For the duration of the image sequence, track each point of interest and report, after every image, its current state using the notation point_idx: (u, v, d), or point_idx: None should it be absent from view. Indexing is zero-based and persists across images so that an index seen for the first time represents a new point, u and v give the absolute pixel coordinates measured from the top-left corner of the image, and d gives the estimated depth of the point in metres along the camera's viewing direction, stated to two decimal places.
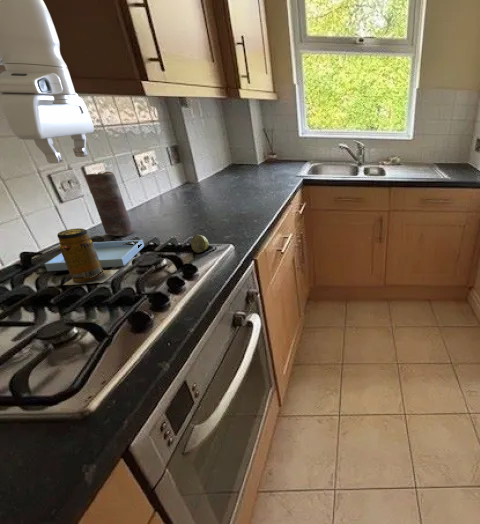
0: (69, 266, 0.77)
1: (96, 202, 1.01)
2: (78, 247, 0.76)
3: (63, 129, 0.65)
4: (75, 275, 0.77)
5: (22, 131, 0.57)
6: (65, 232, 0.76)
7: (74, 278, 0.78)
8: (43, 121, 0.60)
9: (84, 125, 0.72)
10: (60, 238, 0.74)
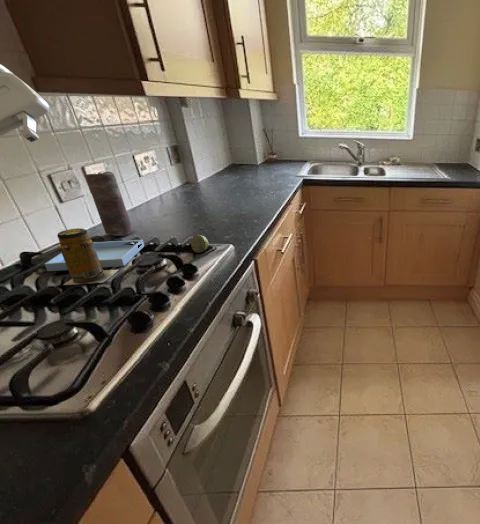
0: (69, 265, 0.77)
1: (96, 202, 1.01)
2: (78, 247, 0.76)
3: None
4: (74, 275, 0.77)
5: (41, 99, 0.62)
6: (65, 232, 0.76)
7: (74, 278, 0.78)
8: None
9: None
10: (60, 238, 0.74)
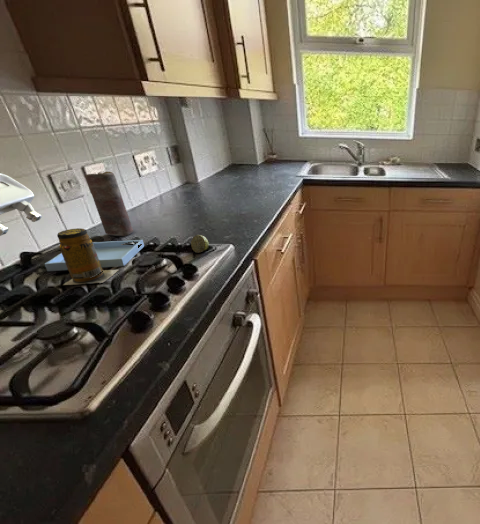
0: (69, 266, 0.77)
1: (96, 202, 1.01)
2: (78, 247, 0.76)
3: None
4: (74, 275, 0.77)
5: None
6: (65, 232, 0.76)
7: (74, 278, 0.78)
8: None
9: None
10: (60, 238, 0.74)
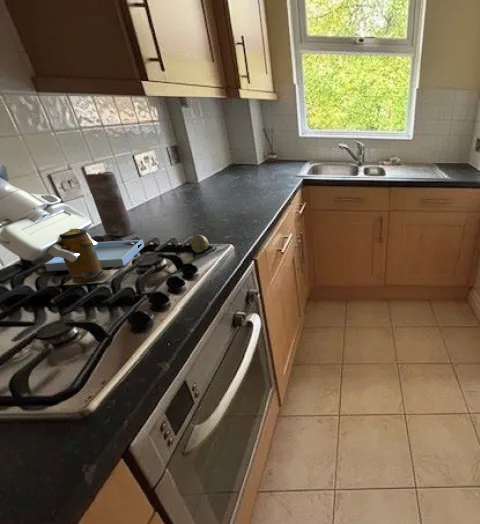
0: (69, 266, 0.76)
1: (96, 202, 1.01)
2: (78, 247, 0.75)
3: None
4: (74, 275, 0.77)
5: None
6: None
7: (74, 278, 0.78)
8: None
9: None
10: None
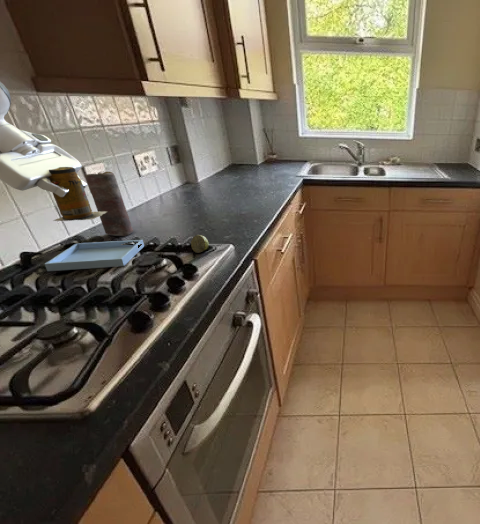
0: (58, 202, 0.79)
1: (96, 202, 1.01)
2: (67, 183, 0.78)
3: None
4: (64, 211, 0.80)
5: None
6: (54, 169, 0.78)
7: (63, 215, 0.81)
8: None
9: None
10: None
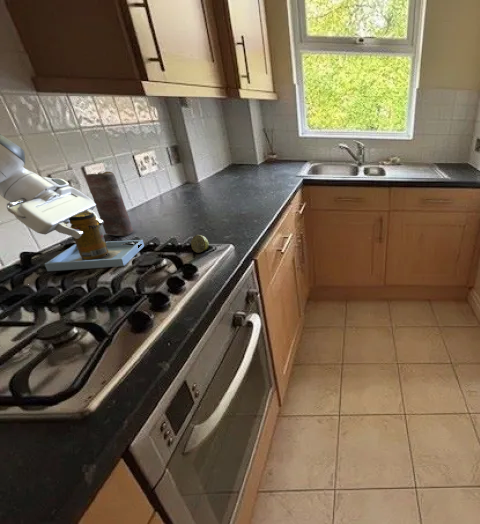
0: (79, 245, 0.87)
1: (96, 202, 1.01)
2: (86, 228, 0.86)
3: None
4: (83, 253, 0.87)
5: None
6: (75, 215, 0.86)
7: (83, 256, 0.88)
8: None
9: None
10: (71, 220, 0.84)
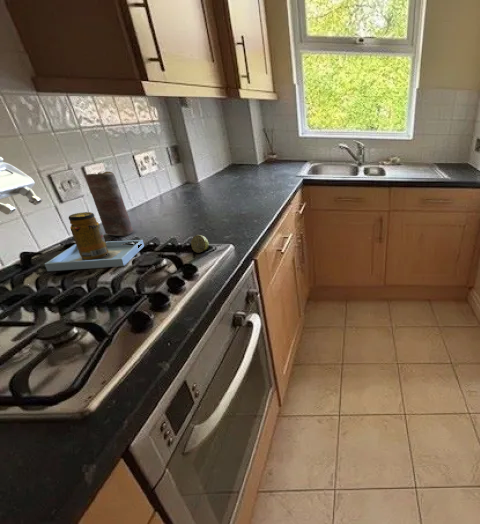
0: (79, 245, 0.87)
1: (96, 202, 1.01)
2: (86, 228, 0.86)
3: None
4: (83, 253, 0.87)
5: None
6: (75, 215, 0.86)
7: (83, 256, 0.88)
8: None
9: None
10: (71, 220, 0.84)
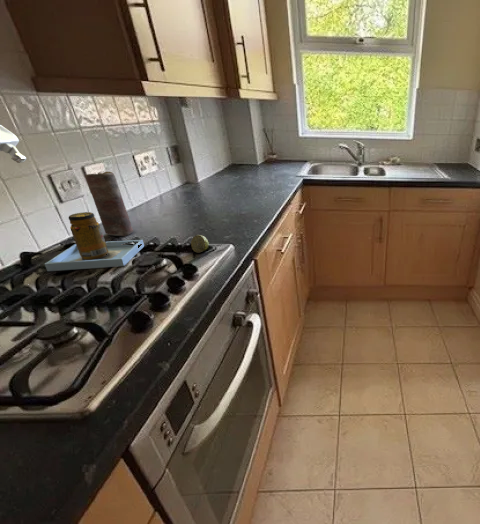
0: (79, 245, 0.87)
1: (96, 202, 1.01)
2: (86, 228, 0.86)
3: None
4: (83, 253, 0.87)
5: None
6: (75, 215, 0.86)
7: (83, 256, 0.88)
8: None
9: None
10: (71, 220, 0.84)
